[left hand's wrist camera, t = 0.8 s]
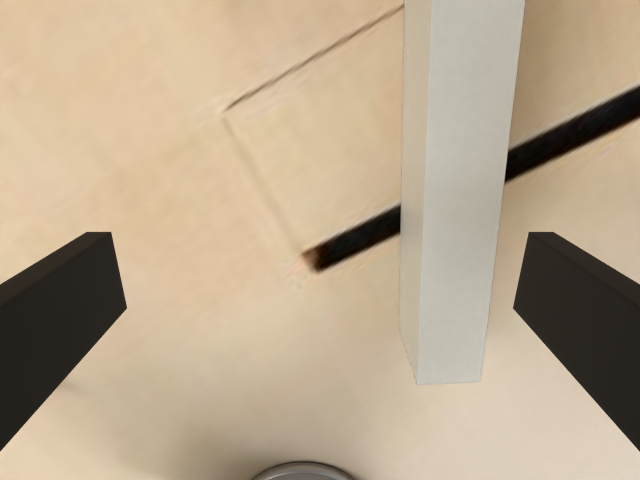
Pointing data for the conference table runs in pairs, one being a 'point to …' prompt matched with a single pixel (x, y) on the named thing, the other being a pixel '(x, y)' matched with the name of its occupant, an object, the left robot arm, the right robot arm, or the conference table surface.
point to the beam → (453, 177)
